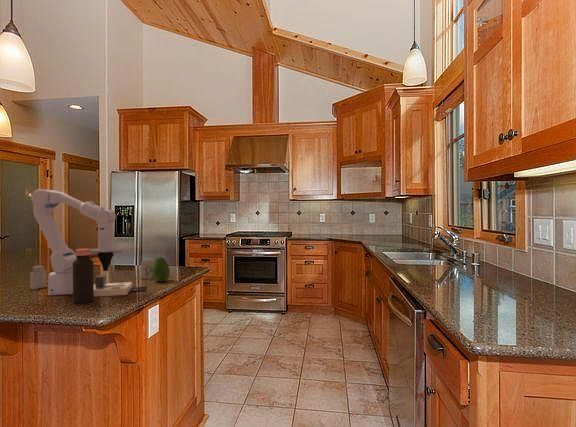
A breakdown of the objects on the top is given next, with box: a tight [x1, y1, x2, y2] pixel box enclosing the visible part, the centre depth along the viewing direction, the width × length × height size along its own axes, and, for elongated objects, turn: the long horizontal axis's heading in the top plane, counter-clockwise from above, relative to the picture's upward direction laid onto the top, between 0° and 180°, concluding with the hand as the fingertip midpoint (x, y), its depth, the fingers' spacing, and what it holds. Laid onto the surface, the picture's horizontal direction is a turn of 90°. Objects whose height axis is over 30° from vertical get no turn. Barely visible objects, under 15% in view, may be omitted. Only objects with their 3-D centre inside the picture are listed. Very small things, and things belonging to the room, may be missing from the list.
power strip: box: [94, 281, 148, 298], centre depth 139 cm, size 22×12×3 cm, turn 105°
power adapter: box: [29, 260, 47, 290], centre depth 145 cm, size 3×5×12 cm, turn 162°
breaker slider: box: [94, 274, 107, 287], centre depth 137 cm, size 3×4×4 cm
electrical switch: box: [140, 259, 156, 280], centre depth 167 cm, size 9×5×9 cm, turn 116°
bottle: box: [72, 247, 95, 305], centre depth 124 cm, size 7×7×20 cm
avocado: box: [152, 256, 171, 283], centre depth 158 cm, size 8×8×12 cm
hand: (105, 270), depth 138 cm, fingers closed
